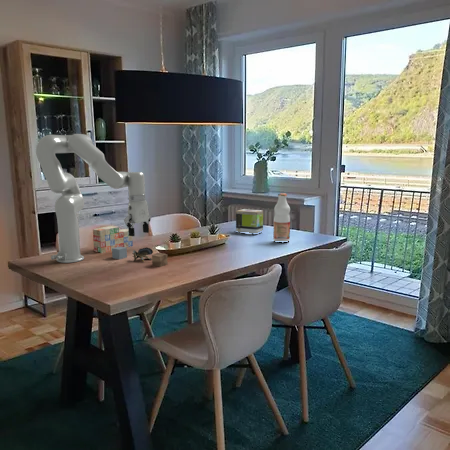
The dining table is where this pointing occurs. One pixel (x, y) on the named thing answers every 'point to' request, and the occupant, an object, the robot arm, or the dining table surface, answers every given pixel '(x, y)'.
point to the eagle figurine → (142, 253)
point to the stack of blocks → (111, 238)
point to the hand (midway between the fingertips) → (139, 234)
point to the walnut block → (159, 259)
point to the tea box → (249, 221)
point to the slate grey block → (119, 252)
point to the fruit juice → (281, 219)
